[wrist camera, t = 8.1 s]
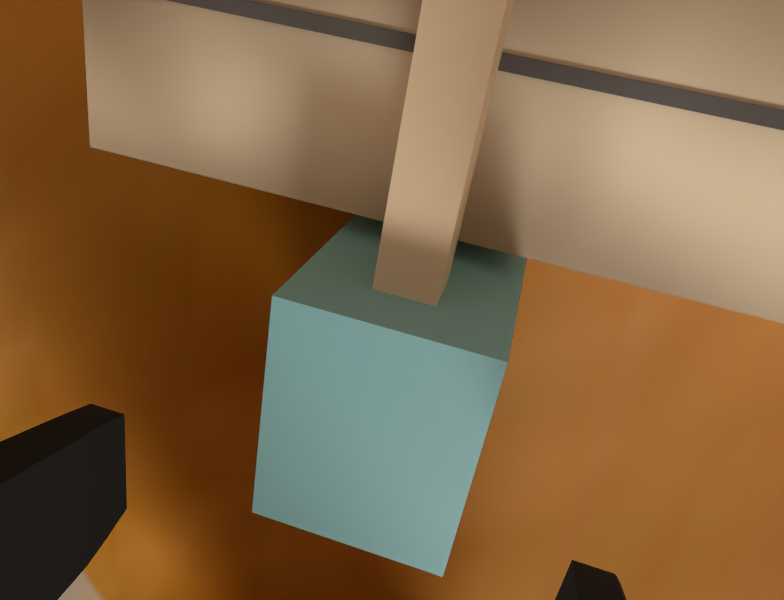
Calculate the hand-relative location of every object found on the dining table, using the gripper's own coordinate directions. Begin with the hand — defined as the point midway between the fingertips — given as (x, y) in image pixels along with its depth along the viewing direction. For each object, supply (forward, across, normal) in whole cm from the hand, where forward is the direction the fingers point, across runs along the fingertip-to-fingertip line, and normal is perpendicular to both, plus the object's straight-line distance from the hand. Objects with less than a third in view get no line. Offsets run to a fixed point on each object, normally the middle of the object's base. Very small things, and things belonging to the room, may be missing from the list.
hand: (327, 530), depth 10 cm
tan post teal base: (+7, 0, -4) cm, 8 cm away
